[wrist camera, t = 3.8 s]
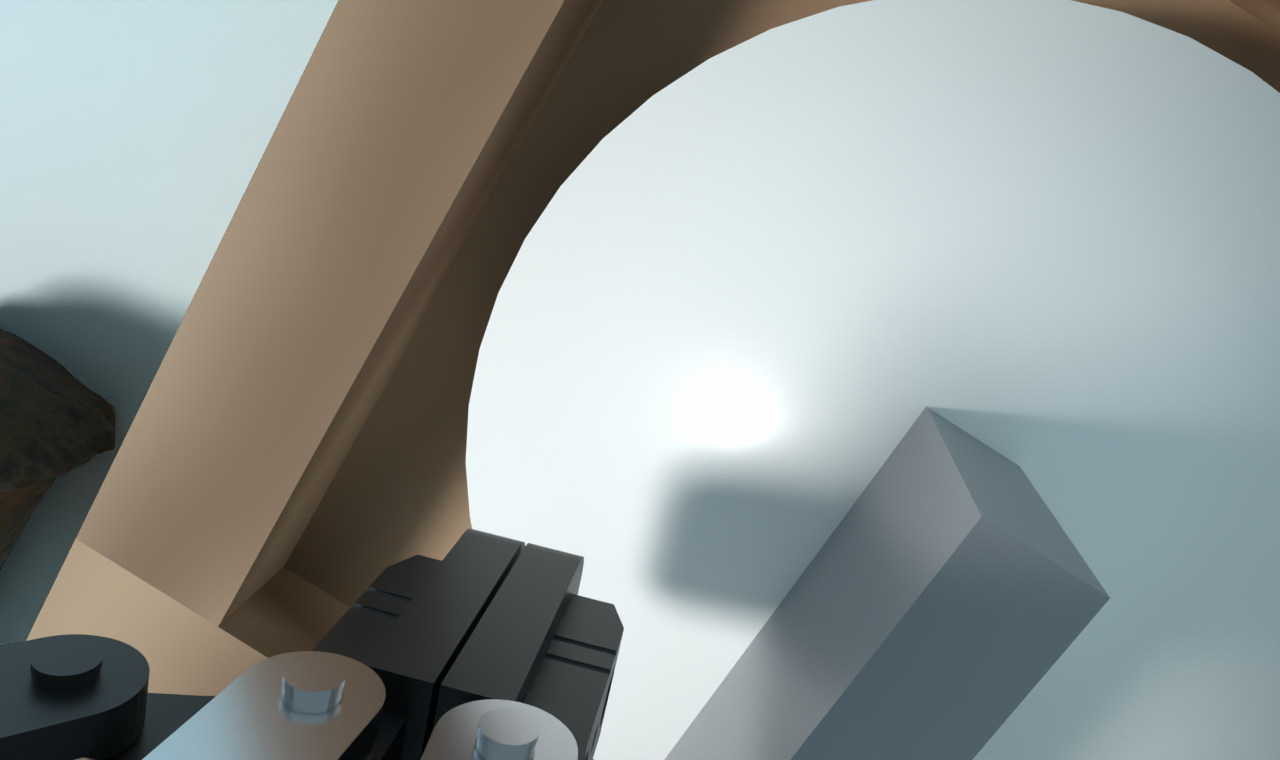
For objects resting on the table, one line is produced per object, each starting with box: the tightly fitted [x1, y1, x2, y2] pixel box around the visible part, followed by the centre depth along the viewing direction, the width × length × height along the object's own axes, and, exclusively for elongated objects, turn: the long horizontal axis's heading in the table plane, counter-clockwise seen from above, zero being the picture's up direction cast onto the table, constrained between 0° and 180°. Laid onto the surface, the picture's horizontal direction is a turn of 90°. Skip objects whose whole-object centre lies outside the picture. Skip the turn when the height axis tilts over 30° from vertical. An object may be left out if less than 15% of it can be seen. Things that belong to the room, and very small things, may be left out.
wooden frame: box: [26, 0, 1280, 760], centre depth 15 cm, size 20×20×3 cm
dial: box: [466, 0, 1280, 760], centre depth 13 cm, size 13×13×6 cm
